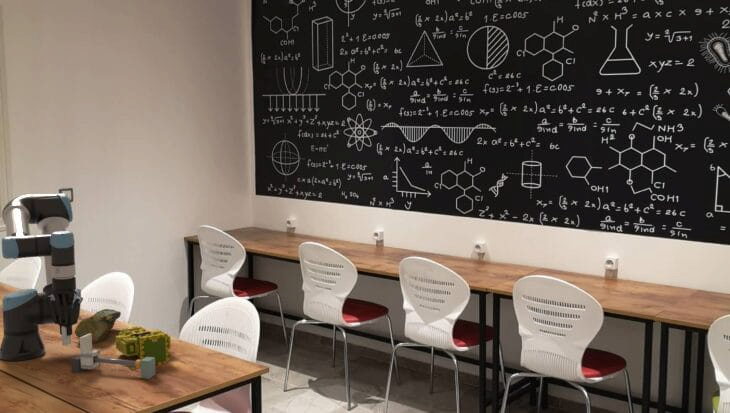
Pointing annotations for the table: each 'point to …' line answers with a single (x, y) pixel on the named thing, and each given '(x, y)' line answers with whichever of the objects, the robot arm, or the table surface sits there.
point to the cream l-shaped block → (88, 352)
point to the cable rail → (145, 364)
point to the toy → (144, 343)
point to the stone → (98, 324)
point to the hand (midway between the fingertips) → (66, 344)
